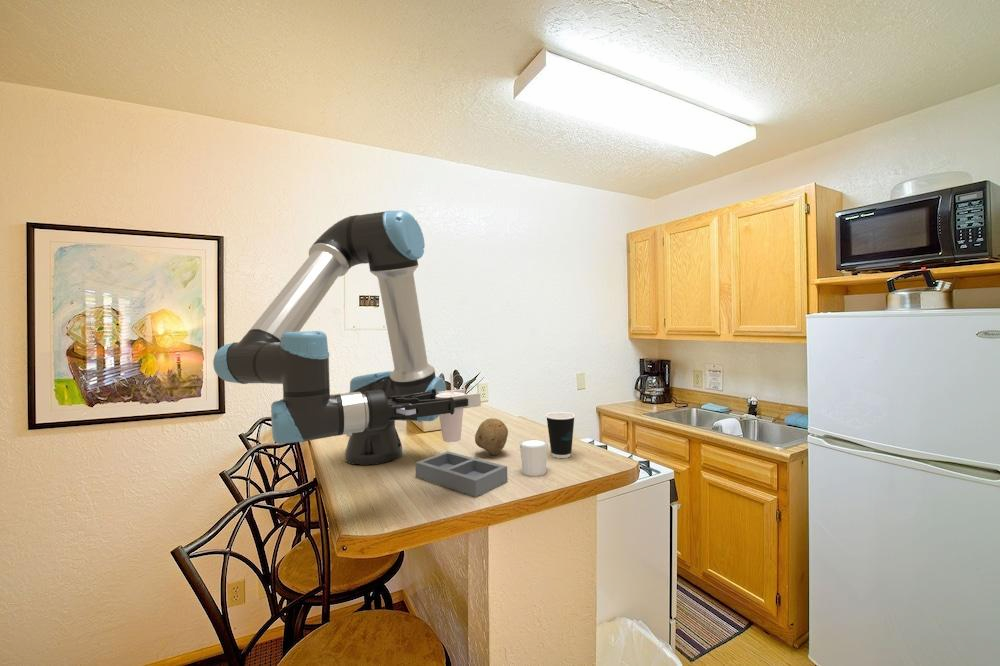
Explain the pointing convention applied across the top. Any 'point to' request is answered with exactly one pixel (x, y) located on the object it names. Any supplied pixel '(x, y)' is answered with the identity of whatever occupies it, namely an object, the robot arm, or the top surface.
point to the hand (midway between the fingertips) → (471, 397)
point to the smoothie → (451, 418)
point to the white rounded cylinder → (534, 457)
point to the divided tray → (462, 473)
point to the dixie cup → (560, 433)
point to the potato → (491, 436)
